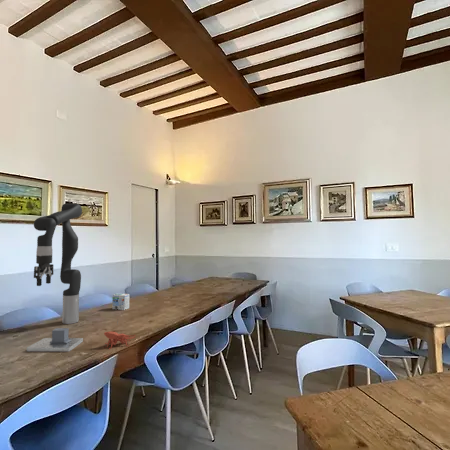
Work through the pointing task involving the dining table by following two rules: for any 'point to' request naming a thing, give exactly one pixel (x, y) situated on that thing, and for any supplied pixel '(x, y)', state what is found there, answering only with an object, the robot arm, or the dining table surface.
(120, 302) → the light bulb box
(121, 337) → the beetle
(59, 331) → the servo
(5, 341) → the dining table surface
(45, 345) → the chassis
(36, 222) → the robot arm
